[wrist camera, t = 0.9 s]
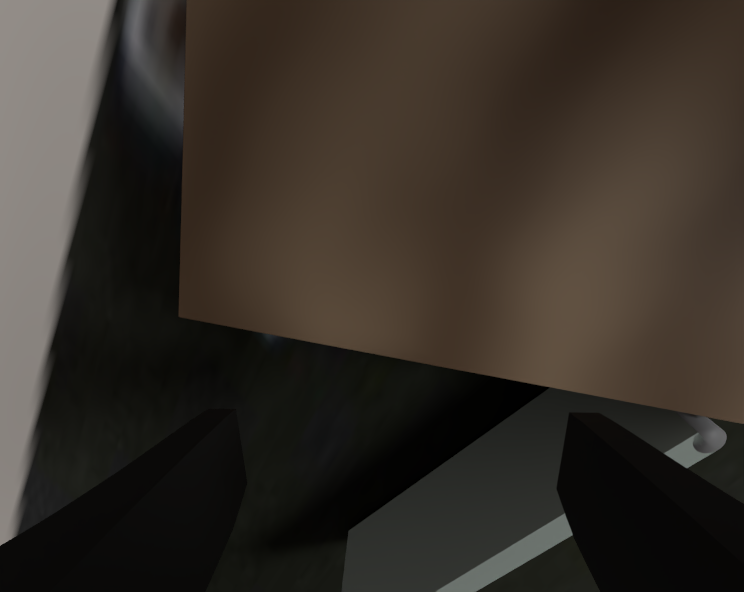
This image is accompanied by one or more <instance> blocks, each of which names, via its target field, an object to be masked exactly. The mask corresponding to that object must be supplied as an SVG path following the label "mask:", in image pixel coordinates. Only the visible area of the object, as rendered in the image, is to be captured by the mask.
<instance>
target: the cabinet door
mask: <svg viewBox="0 0 744 592" xmlns="http://www.w3.org/2000/svg"><path fill="white" fill-rule="evenodd" d="M569 412H583V413H600V414H602V415H604V416H606V417H607V418H609V419H611V420H612V421H614V422H616V423H617V424H619V425H621V426H622V427H624V428H625V429H627V430H628V431H630V432H632V433H633V434H635V435H636V436H638V437H639V438H641V439H642V440H644V441H645V442H647V443H649V444H650V445H652V446H653V447H655V448H656V449H658V450H659V451H661V452H662V453H664V454H665V455H667V456H668V457H670V458H672V459H673V460H675V461H676V462H678V463H679V464H681V465H682V466H684V467H685V468H688V467H690V466H691V465H693V464H695V463H696V462H698V461H700V460H702V459H703V458H705V457H707V456H708V455H710V454H712V453H714V452H715V451H717V450H719V449H720V448H721V447H722V446H723V445H724V444H725V442H726V438H727V437H726V433H725V432H724V431H723V430H722V429H721V428H720V427H718V426H717V425H716V424H715V423H714V422H712V421H711V420H710V419H709V418H707V417H705V416H699V415H694V414H689V413H684V412H678V411H673V410H668V409H662V408H657V407H652V406H647V405H641V404H636V403H631V402H625V401H620V400H615V399H610V398H604V397H599V396H594V395H588V394H583V393H578V392H573V391H567V390H562V389H557V388H551V387H550V388H549V389H547V390H546V391H545V392H543V393H542V394H540V395H539V396H537V397H536V398H535V399H533V400H532V401H530V402H529V403H528V404H526V405H525V406H523V407H522V408H521V409H519V410H518V411H516V412H515V413H514V414H512V415H511V416H509V417H508V418H507V419H505V420H504V421H502V422H501V423H500V424H498V425H497V426H495V427H494V428H492V429H491V430H490V431H488V432H487V433H485V434H484V435H483V436H481V437H480V438H478V439H477V440H476V441H474V442H473V443H471V444H470V445H469V446H467V447H466V448H464V449H463V450H462V451H460V452H459V453H457V454H456V455H455V456H453V457H452V458H450V459H449V460H447V461H446V462H445V463H443V464H442V465H440V466H439V467H438V468H436V469H435V470H433V471H432V472H431V473H429V474H428V475H426V476H425V477H424V478H422V479H421V480H419V481H418V482H417V483H415V484H414V485H412V486H411V487H409V488H408V489H407V490H405V491H404V492H402V493H401V494H400V495H398V496H397V497H395V498H394V499H393V500H391V501H390V502H388V503H387V504H386V505H384V506H383V507H381V508H380V509H379V510H377V511H376V512H374V513H373V514H372V515H370V516H369V517H367V518H366V519H364V520H363V521H362V522H360V523H359V524H357V525H356V526H355V527H353V528H352V529H350V530H349V531H348V540H347V549H346V558H345V567H344V576H343V585H342V592H476V591H477V590H479V589H481V588H483V587H484V586H486V585H488V584H489V583H491V582H493V581H495V580H496V579H498V578H500V577H501V576H503V575H505V574H507V573H508V572H510V571H512V570H513V569H515V568H517V567H519V566H520V565H522V564H524V563H525V562H527V561H529V560H531V559H532V558H534V557H536V556H537V555H539V554H541V553H542V552H544V551H546V550H548V549H549V548H551V547H553V546H554V545H556V544H558V543H560V542H561V541H563V540H565V539H566V538H568V537H570V536H572V535H573V534H572V531H571V528H570V526H569V523H568V521H567V518H566V515H565V512H564V509H563V507H562V504H561V501H560V498H559V495H558V492H557V489H556V487H557V481H558V475H559V469H560V464H561V458H562V452H563V446H564V440H565V434H566V428H567V422H568V416H569Z"/></svg>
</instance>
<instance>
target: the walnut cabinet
mask: <svg viewBox="0 0 744 592" xmlns="http://www.w3.org/2000/svg"><path fill="white" fill-rule="evenodd" d="M179 317H181V318H187V319H192V320H197V321H202V322H208V323H213V324H218V325H224V326H229V327H234V328H239V329H245V330H250V331H255V332H261V333H266V334H271V335H276V336H282V337H287V338H292V339H298V340H303V341H308V342H313V343H319V344H324V345H329V346H335V347H340V348H345V349H350V350H356V351H361V352H366V353H372V354H377V355H382V356H387V357H393V358H398V359H403V360H409V361H414V362H419V363H424V364H430V365H435V366H440V367H446V368H451V369H456V370H461V371H467V372H472V373H477V374H483V375H488V376H493V377H499V378H504V379H509V380H514V381H520V382H525V383H530V384H536V385H541V386H546V387H551V388H557V389H562V390H567V391H573V392H578V393H583V394H588V395H594V396H599V397H604V398H610V399H615V400H620V401H625V402H631V403H636V404H641V405H647V406H652V407H657V408H662V409H668V410H673V411H678V412H684V413H689V414H694V415H699V416H705V417H710V418H715V419H721V420H726V421H731V422H736V423H742V424H744V0H187V11H186V50H185V89H184V127H183V166H182V205H181V244H180V283H179Z"/></svg>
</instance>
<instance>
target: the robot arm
mask: <svg viewBox="0 0 744 592" xmlns="http://www.w3.org/2000/svg"><path fill="white" fill-rule="evenodd" d="M246 485H247V479H246V473H245V466H244V460H243V453H242V447H241V440H240V434H239V427H238V421H237V415H236V409H208V410H206V411H205V412H203V413H201V414H200V415H198V416H197V417H195V418H194V419H192V420H191V421H189V422H188V423H187V424H185V425H184V426H182V427H181V428H179V429H178V430H177V431H175V432H174V433H172V434H171V435H170V436H168V437H167V438H165V439H164V440H163V441H161V442H160V443H158V444H157V445H155V446H154V447H153V448H151V449H150V450H148V451H147V452H145V453H144V454H143V455H141V456H140V457H138V458H137V459H136V460H134V461H133V462H131V463H130V464H128V465H127V466H126V467H124V468H123V469H121V470H120V471H118V472H117V473H115V474H114V475H112V476H111V477H109V478H108V479H106V480H105V481H103V482H102V483H100V484H99V485H97V486H96V487H94V488H92V489H91V490H89V491H88V492H86V493H85V494H83V495H82V496H80V497H79V498H77V499H76V500H74V501H73V502H71V503H70V504H68V505H67V506H65V507H63V508H62V509H60V510H59V511H57V512H56V513H54V514H53V515H51V516H49V517H48V518H46V519H44V520H43V521H41V522H40V523H38V524H36V525H35V526H33V527H31V528H30V529H28V530H26V531H25V532H23V533H21V534H20V535H18V536H16V537H15V538H13V539H11V540H9V541H8V542H6V543H4V544H2V545H1V546H0V592H205V591H206V589H207V587H208V584H209V582H210V580H211V578H212V575H213V573H214V571H215V569H216V566H217V564H218V562H219V560H220V557H221V555H222V553H223V551H224V548H225V546H226V544H227V541H228V539H229V537H230V534H231V532H232V530H233V527H234V524H235V521H236V517H237V514H238V511H239V508H240V505H241V502H242V498H243V495H244V492H245V488H246ZM556 489H557V492H558V495H559V498H560V501H561V504H562V507H563V509H564V512H565V515H566V518H567V521H568V523H569V526H570V528H571V531H572V534H573V536H574V539H575V541H576V543H577V545H578V547H579V549H580V551H581V554H582V556H583V558H584V560H585V562H586V564H587V566H588V568H589V570H590V572H591V574H592V576H593V578H594V580H595V582H596V584H597V586H598V588H599V590H600V592H744V504H743V503H741V502H740V501H738V500H736V499H735V498H733V497H731V496H730V495H728V494H727V493H725V492H723V491H722V490H720V489H719V488H717V487H715V486H714V485H712V484H711V483H709V482H707V481H706V480H704V479H703V478H701V477H700V476H698V475H696V474H695V473H693V472H692V471H690V470H689V469H687V468H685V467H684V466H682V465H681V464H679V463H678V462H676V461H675V460H673V459H672V458H670V457H668V456H667V455H665V454H664V453H662V452H661V451H659V450H658V449H656V448H655V447H653V446H652V445H650V444H649V443H647V442H645V441H644V440H642V439H641V438H639V437H638V436H636V435H635V434H633V433H632V432H630V431H628V430H627V429H625V428H624V427H622V426H621V425H619V424H617V423H616V422H614V421H612V420H611V419H609V418H607V417H606V416H604V415H602V414H600V413H583V412H569V416H568V422H567V428H566V434H565V440H564V446H563V452H562V458H561V464H560V469H559V475H558V481H557V487H556Z"/></svg>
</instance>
